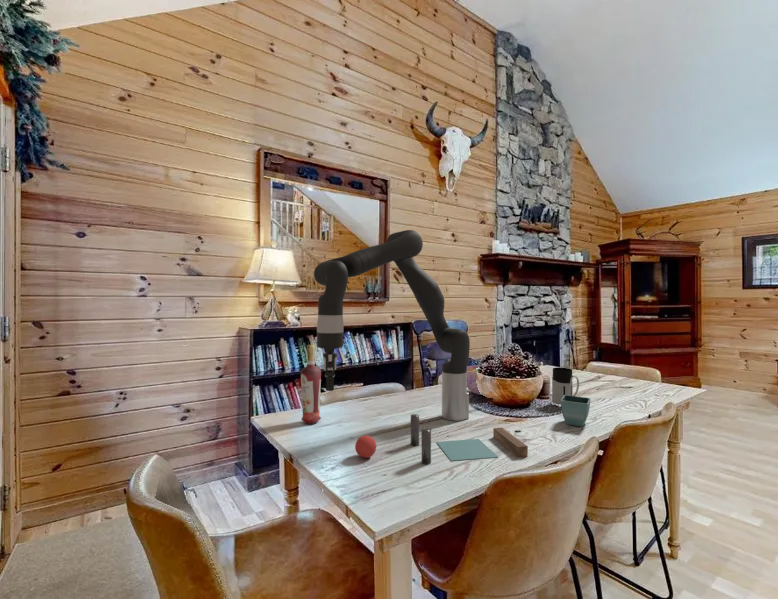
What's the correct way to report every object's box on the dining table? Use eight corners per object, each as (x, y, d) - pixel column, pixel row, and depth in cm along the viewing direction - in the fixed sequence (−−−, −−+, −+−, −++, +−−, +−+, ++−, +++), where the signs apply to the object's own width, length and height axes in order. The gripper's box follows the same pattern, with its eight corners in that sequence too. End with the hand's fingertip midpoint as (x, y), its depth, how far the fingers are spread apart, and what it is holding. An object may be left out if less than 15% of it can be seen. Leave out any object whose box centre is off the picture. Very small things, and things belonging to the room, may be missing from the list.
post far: (417, 442, 123) (417, 414, 123) (420, 445, 121) (420, 416, 121) (409, 443, 123) (409, 414, 123) (411, 446, 120) (411, 417, 120)
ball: (374, 452, 116) (374, 431, 116) (377, 460, 110) (377, 439, 110) (354, 453, 115) (354, 433, 115) (356, 462, 109) (356, 440, 109)
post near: (429, 460, 110) (429, 428, 110) (432, 464, 108) (432, 431, 108) (420, 460, 110) (420, 428, 110) (422, 464, 107) (422, 431, 107)
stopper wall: (502, 436, 128) (502, 427, 128) (527, 456, 113) (527, 446, 113) (493, 437, 128) (493, 428, 128) (517, 457, 112) (517, 446, 112)
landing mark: (478, 439, 126) (478, 438, 126) (498, 457, 112) (498, 456, 112) (436, 442, 124) (436, 441, 124) (451, 461, 110) (451, 460, 110)
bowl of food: (453, 392, 185) (453, 368, 185) (482, 387, 196) (482, 363, 196) (486, 402, 169) (486, 375, 168) (515, 395, 180) (516, 370, 180)
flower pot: (588, 429, 135) (588, 403, 135) (560, 425, 139) (560, 400, 139) (590, 422, 142) (590, 397, 142) (564, 418, 147) (564, 394, 147)
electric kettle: (564, 401, 170) (564, 366, 170) (587, 411, 156) (588, 373, 156) (546, 402, 168) (546, 367, 168) (568, 412, 154) (568, 374, 154)
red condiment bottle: (325, 421, 144) (325, 345, 143) (308, 426, 138) (308, 347, 138) (313, 417, 149) (313, 343, 148) (296, 422, 143) (296, 345, 143)
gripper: (344, 333, 107) (343, 392, 107) (342, 328, 121) (341, 381, 121) (316, 333, 106) (315, 393, 106) (317, 328, 120) (317, 382, 120)
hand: (329, 387), depth 113 cm, fingers open, 8 cm apart
